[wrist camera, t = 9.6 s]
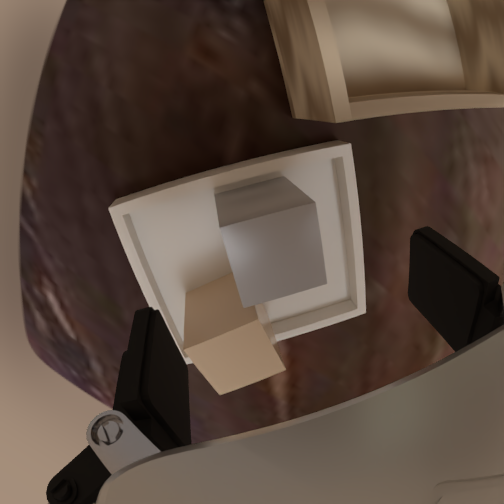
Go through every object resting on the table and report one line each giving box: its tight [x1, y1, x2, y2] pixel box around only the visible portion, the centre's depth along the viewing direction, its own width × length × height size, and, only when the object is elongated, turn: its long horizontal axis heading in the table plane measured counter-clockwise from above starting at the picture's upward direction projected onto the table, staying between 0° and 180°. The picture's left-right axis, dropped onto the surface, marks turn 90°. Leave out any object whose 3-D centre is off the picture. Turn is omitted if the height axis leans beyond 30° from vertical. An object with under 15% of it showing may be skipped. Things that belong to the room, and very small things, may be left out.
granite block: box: [214, 176, 327, 308], centre depth 18 cm, size 4×4×6 cm
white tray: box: [108, 140, 366, 364], centre depth 22 cm, size 13×15×2 cm
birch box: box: [263, 0, 504, 123], centre depth 13 cm, size 13×16×7 cm
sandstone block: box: [183, 272, 286, 395], centre depth 21 cm, size 4×4×6 cm
